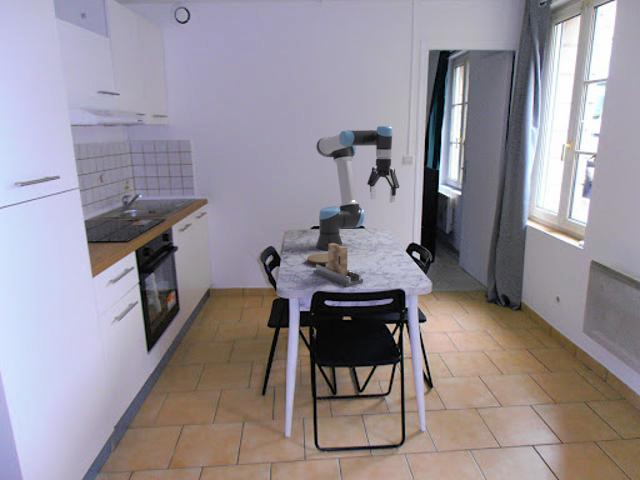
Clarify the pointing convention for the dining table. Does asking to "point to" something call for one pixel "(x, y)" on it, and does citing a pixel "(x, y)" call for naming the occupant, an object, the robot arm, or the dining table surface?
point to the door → (337, 258)
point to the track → (338, 276)
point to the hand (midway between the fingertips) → (382, 200)
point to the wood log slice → (318, 259)
